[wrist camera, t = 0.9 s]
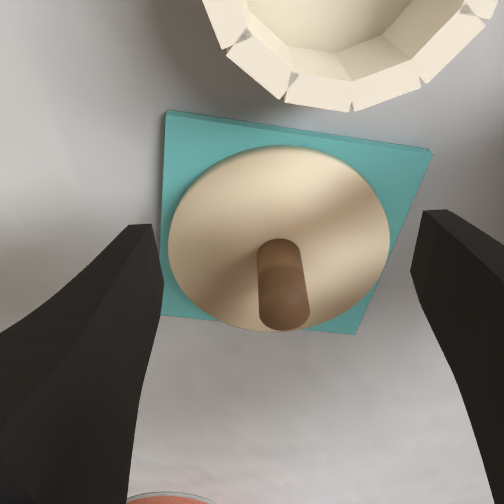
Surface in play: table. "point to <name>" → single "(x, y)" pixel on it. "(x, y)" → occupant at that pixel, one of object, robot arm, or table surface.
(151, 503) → the canned food
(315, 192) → the cover
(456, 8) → the bowl
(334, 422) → the table surface
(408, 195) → the mat
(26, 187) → the table surface
